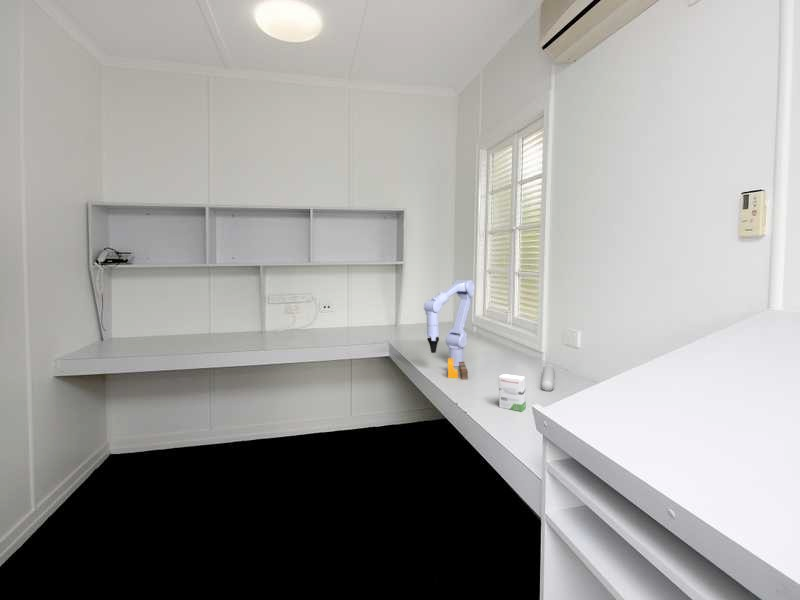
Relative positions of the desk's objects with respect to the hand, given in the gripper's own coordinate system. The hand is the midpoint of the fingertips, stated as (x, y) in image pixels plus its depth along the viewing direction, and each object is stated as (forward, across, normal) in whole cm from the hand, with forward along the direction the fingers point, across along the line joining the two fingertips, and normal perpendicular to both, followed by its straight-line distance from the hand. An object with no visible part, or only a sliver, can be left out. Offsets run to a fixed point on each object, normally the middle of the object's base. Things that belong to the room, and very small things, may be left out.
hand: (433, 352), depth 197 cm
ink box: (+10, +49, +27) cm, 57 cm away
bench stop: (+9, +6, +14) cm, 18 cm away
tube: (+10, +21, +48) cm, 54 cm away
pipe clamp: (+10, +5, +9) cm, 14 cm away
